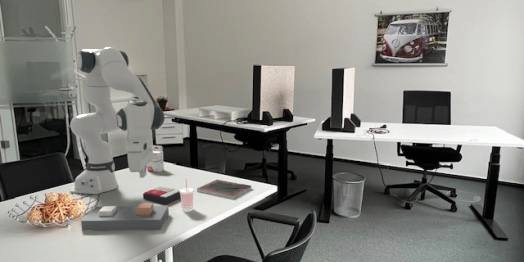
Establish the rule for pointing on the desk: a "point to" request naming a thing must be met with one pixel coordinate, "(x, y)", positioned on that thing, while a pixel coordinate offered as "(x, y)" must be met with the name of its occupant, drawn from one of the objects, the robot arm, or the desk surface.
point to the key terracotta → (145, 209)
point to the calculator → (162, 195)
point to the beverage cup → (186, 198)
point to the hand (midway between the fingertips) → (143, 176)
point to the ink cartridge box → (156, 160)
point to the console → (126, 219)
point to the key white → (107, 211)
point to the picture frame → (224, 189)
